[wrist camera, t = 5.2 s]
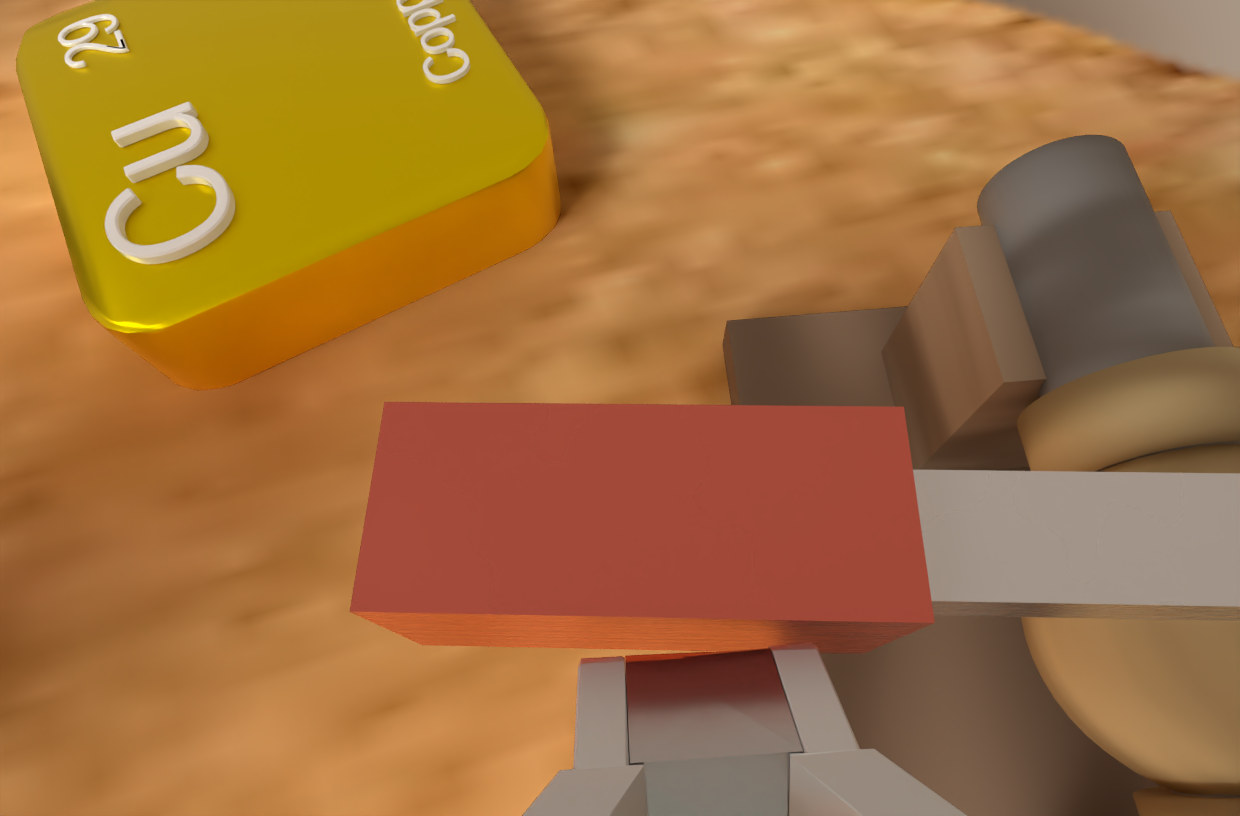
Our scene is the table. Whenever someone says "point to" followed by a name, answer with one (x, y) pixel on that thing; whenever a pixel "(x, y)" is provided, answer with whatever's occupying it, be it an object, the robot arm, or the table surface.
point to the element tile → (279, 167)
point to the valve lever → (756, 531)
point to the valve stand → (1040, 441)
